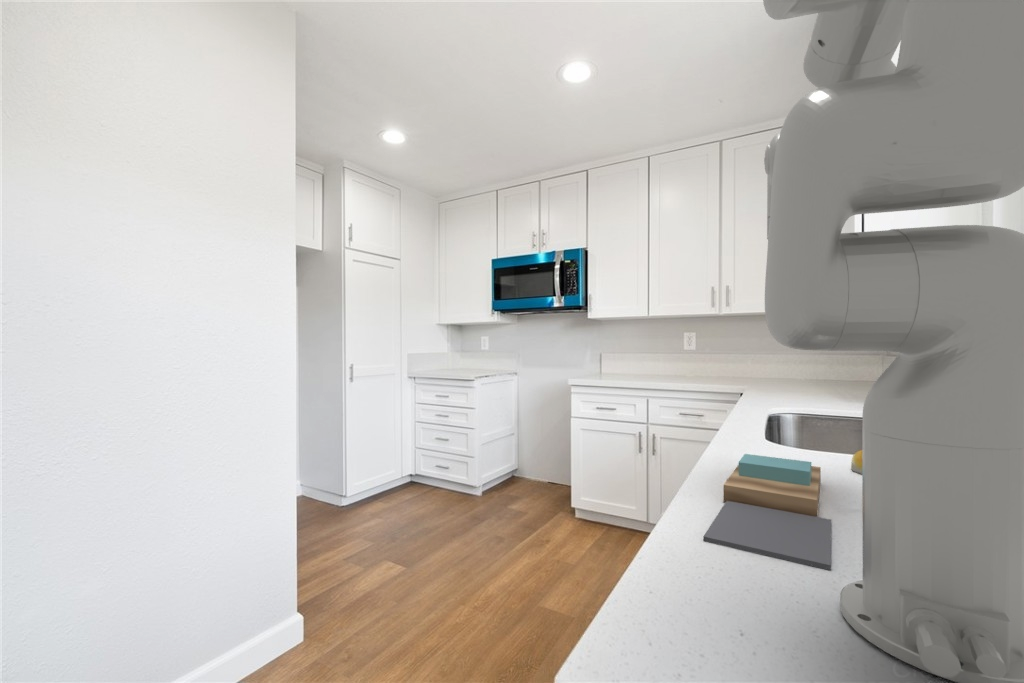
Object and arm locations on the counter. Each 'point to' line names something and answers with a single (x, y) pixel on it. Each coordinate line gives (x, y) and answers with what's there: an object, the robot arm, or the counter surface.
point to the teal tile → (775, 469)
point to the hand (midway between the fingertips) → (793, 335)
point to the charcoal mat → (773, 533)
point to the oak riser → (775, 493)
